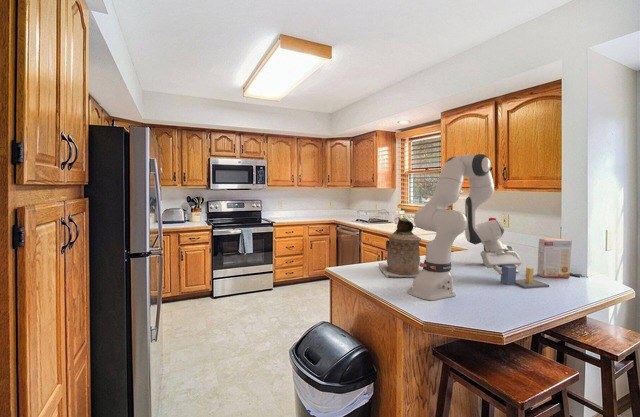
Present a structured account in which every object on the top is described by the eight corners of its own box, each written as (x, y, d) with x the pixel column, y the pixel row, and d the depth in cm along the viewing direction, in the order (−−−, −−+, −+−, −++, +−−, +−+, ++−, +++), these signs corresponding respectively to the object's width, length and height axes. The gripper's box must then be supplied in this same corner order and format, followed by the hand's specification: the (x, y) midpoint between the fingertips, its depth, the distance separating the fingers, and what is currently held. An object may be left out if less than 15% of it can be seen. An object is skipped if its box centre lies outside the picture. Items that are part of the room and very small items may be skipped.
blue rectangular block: (507, 285, 159) (508, 267, 158) (500, 282, 163) (501, 265, 163) (515, 284, 160) (516, 267, 159) (508, 281, 164) (509, 265, 164)
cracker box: (562, 275, 177) (565, 238, 175) (570, 278, 171) (572, 240, 169) (536, 274, 178) (538, 237, 177) (542, 277, 172) (545, 239, 171)
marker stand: (525, 288, 154) (526, 271, 153) (509, 282, 164) (510, 266, 163) (549, 286, 157) (550, 270, 156) (532, 280, 166) (533, 264, 166)
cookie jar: (430, 279, 168) (433, 219, 166) (384, 278, 169) (386, 219, 166) (417, 266, 193) (419, 214, 190) (377, 266, 194) (378, 214, 191)
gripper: (482, 248, 165) (495, 271, 156) (515, 246, 169) (530, 269, 160) (476, 254, 170) (488, 277, 161) (508, 253, 174) (522, 275, 165)
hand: (509, 273), depth 161 cm, fingers open, 8 cm apart
